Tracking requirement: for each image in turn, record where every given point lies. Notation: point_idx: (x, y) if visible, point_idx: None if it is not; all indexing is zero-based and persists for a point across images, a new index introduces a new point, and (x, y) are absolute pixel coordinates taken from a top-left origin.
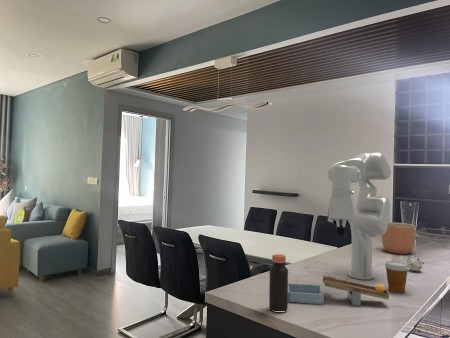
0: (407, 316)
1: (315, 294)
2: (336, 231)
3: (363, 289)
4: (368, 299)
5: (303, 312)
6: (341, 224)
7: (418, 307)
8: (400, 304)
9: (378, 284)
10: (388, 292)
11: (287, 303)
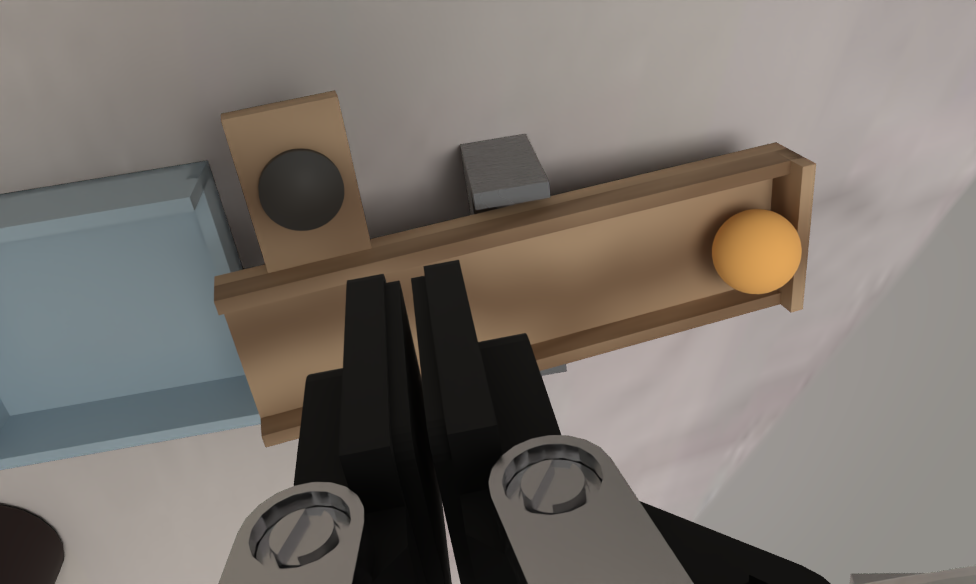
0: (807, 364)
1: (201, 432)
2: (304, 404)
3: (596, 352)
4: (637, 126)
5: (170, 524)
6: (502, 533)
7: (970, 176)
8: (863, 157)
9: (756, 273)
10: (794, 311)
11: (48, 581)
